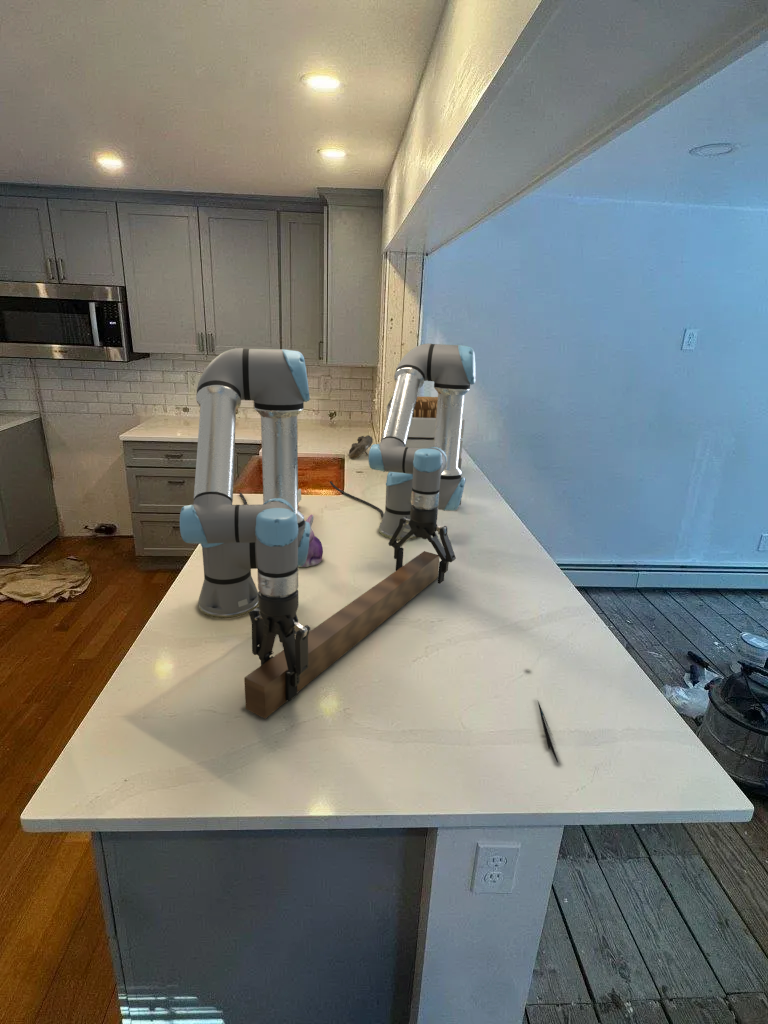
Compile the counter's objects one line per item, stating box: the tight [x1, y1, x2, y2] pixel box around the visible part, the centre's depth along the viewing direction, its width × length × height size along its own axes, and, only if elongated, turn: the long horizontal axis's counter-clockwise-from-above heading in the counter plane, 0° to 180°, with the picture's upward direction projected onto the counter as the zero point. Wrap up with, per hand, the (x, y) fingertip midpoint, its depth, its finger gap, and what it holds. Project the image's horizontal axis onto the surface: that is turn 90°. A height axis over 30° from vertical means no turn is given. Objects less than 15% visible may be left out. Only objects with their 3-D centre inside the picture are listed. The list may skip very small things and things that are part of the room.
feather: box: [527, 669, 559, 763], centre depth 113 cm, size 2×28×2 cm
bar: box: [243, 550, 440, 720], centre depth 138 cm, size 74×5×7 cm, turn 149°
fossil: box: [348, 435, 374, 460], centre depth 302 cm, size 22×10×15 cm
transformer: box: [385, 395, 465, 471], centre depth 268 cm, size 34×33×41 cm
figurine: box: [301, 513, 324, 568], centre depth 172 cm, size 9×10×15 cm
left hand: (280, 691), depth 115 cm, fingers closed on bar, 5 cm apart
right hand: (419, 575), depth 163 cm, fingers open, 13 cm apart
